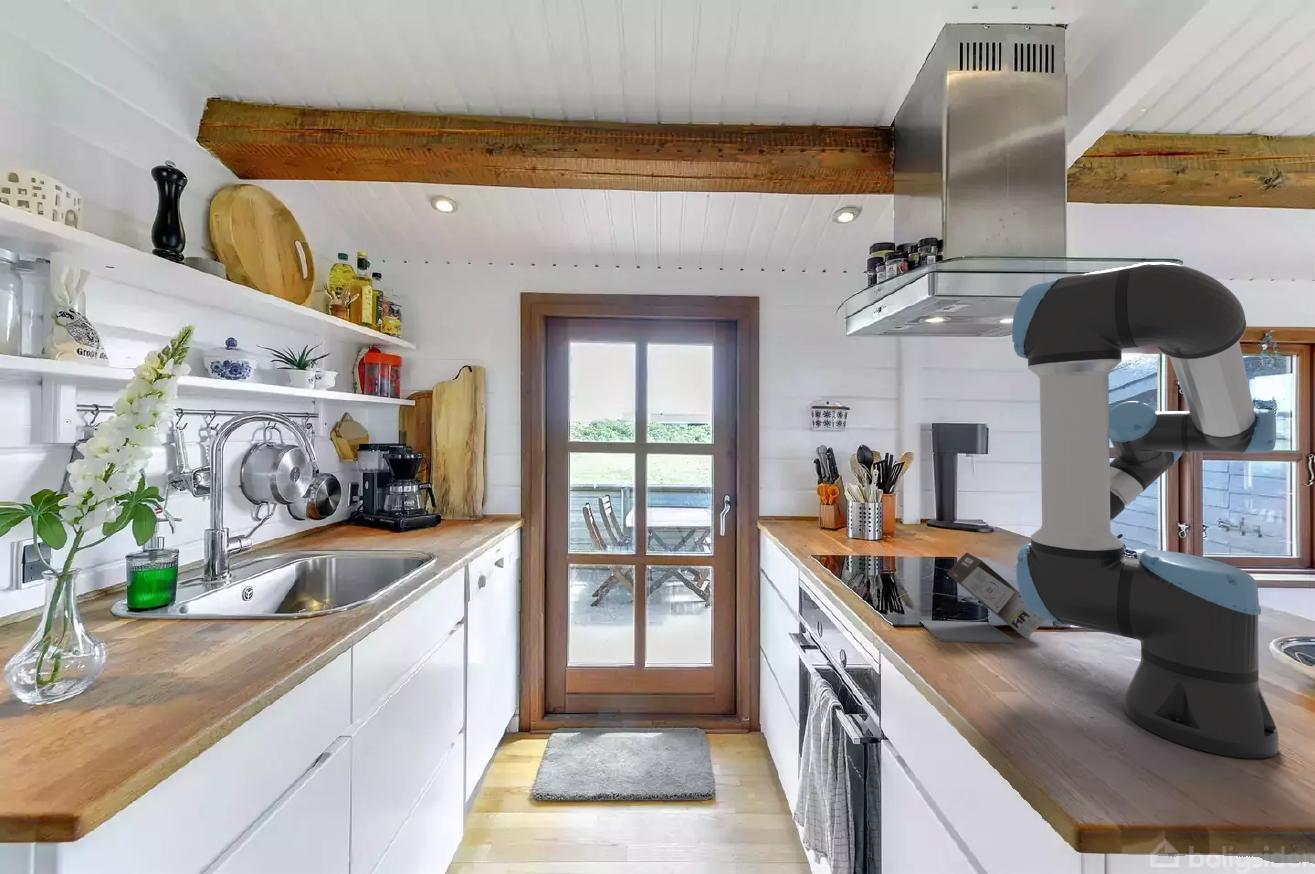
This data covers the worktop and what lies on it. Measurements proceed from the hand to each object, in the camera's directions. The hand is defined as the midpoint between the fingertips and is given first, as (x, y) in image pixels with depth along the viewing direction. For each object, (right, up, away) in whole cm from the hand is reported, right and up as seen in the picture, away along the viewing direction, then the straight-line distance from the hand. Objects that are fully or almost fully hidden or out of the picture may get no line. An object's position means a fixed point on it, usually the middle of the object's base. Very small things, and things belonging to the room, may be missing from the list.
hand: (1020, 575), depth 115 cm
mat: (-12, -12, -1) cm, 16 cm away
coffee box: (+1, -9, 0) cm, 9 cm away
